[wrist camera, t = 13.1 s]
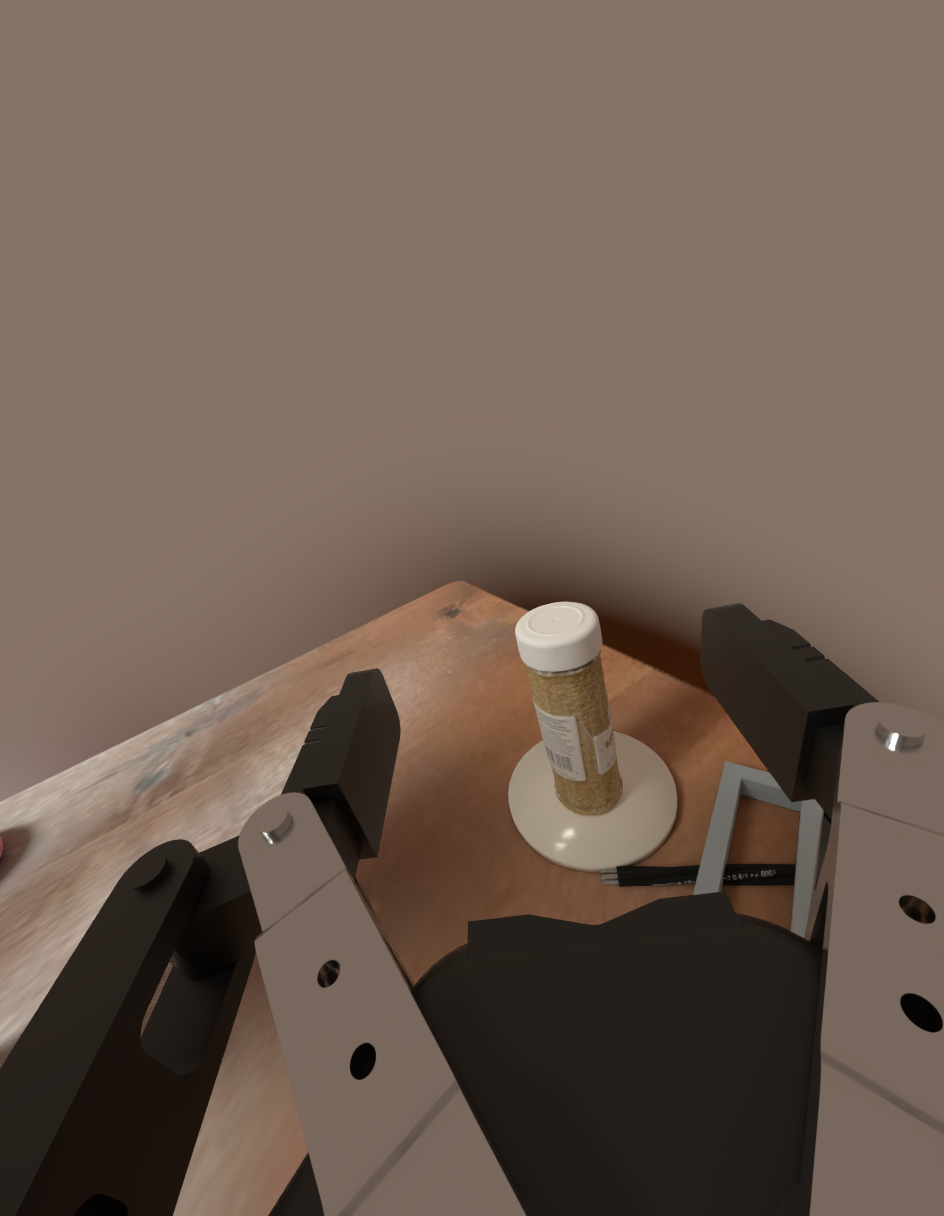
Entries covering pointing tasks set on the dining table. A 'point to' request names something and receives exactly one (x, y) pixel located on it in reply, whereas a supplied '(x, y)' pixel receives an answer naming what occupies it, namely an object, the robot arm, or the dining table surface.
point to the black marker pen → (688, 874)
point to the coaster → (596, 838)
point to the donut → (1, 846)
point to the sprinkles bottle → (572, 703)
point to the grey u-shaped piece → (722, 826)
